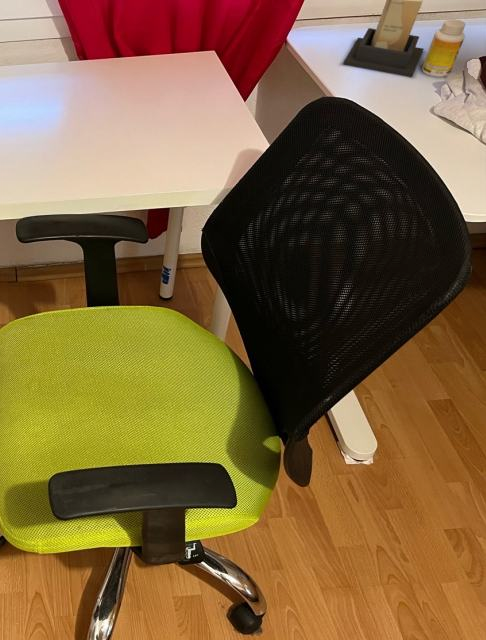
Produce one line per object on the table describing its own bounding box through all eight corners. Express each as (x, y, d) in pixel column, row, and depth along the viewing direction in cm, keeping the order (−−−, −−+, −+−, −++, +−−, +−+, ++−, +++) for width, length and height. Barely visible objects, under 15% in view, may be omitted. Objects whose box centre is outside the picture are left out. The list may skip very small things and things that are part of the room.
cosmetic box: (370, 58, 149) (390, -2, 140) (368, 49, 152) (387, -9, 143) (401, 60, 148) (423, 0, 139) (399, 51, 151) (420, -8, 142)
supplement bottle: (451, 79, 143) (472, 29, 136) (422, 77, 144) (442, 27, 137) (447, 67, 147) (467, 18, 139) (419, 65, 148) (438, 16, 141)
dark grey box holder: (422, 53, 152) (429, 34, 149) (411, 78, 144) (418, 59, 141) (356, 41, 157) (362, 23, 154) (342, 65, 149) (348, 47, 146)
